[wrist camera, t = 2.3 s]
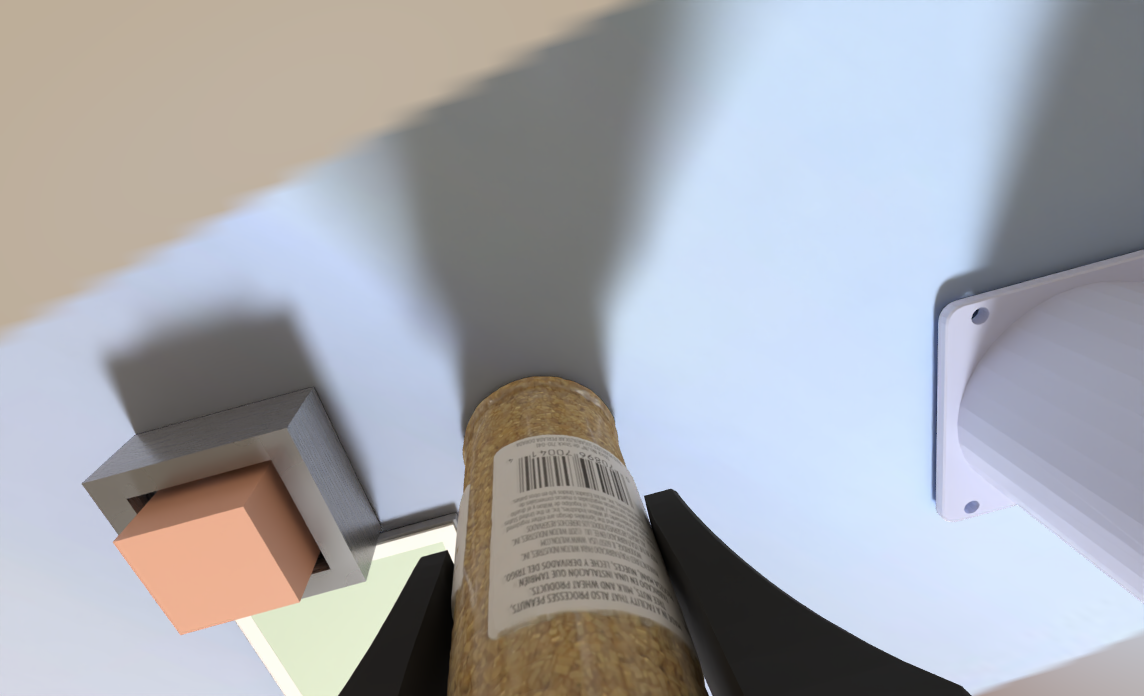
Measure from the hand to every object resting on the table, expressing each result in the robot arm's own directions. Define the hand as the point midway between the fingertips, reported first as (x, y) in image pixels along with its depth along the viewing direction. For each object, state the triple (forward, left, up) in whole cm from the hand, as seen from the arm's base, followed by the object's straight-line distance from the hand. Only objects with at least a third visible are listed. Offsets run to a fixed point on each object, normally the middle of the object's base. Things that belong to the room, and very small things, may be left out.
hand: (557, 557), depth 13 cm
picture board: (+7, +6, -5) cm, 10 cm away
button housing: (+8, -1, -5) cm, 9 cm away
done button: (+8, -1, -3) cm, 9 cm away
